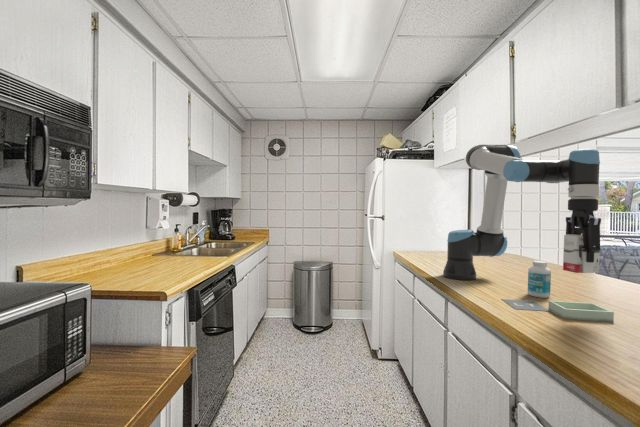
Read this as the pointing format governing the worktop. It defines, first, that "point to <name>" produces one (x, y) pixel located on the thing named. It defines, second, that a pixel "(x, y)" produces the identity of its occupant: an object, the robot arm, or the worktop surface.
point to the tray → (581, 311)
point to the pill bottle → (539, 280)
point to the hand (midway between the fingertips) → (580, 270)
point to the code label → (525, 305)
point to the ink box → (576, 254)
